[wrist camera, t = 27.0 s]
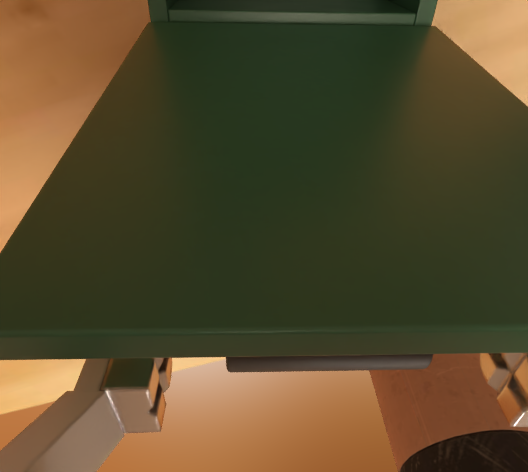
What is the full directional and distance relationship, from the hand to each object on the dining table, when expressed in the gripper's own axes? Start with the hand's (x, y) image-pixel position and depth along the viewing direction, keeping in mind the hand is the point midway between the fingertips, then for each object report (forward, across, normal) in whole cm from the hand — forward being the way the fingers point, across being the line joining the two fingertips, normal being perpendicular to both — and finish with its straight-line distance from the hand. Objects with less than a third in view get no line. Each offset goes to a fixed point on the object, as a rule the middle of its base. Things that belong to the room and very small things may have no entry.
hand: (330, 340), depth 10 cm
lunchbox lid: (+5, 0, -4) cm, 7 cm away
